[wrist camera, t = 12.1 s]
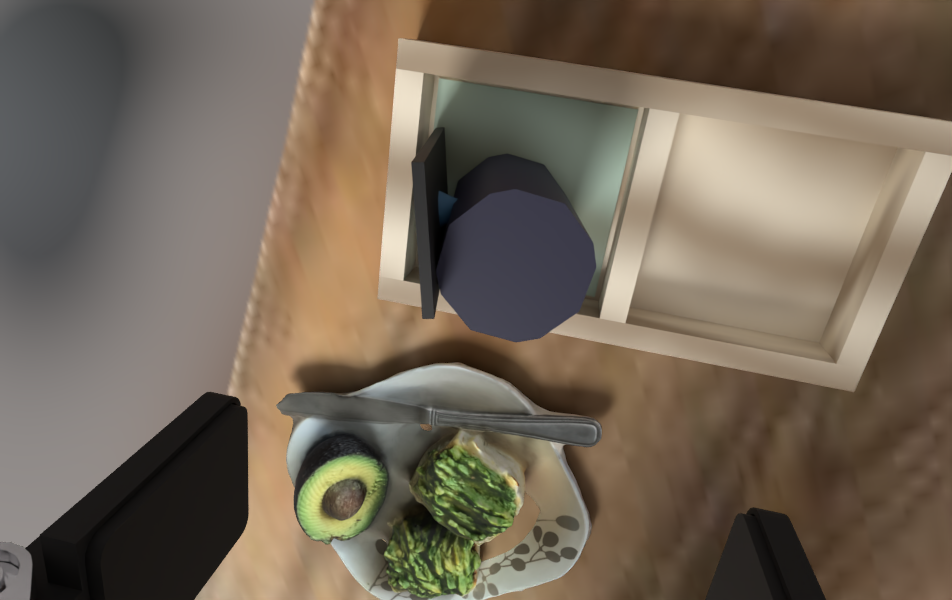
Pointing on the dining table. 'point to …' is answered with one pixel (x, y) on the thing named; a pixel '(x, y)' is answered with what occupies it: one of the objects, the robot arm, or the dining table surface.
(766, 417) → the dining table surface
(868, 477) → the dining table surface
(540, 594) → the dining table surface
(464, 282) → the speaker
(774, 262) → the sorting tray
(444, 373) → the avocado toast plate
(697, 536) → the dining table surface
